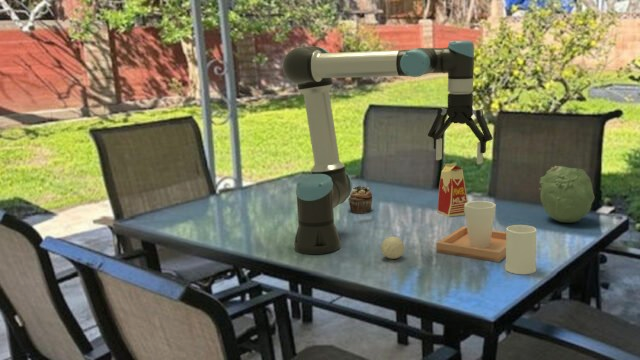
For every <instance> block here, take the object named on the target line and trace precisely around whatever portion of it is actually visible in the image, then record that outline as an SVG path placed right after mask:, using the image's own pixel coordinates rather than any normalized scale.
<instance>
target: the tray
mask: <svg viewBox="0 0 640 360" xmlns="http://www.w3.org/2000/svg"><path fill="white" fill-rule="evenodd" d="M436 253H441V254H446V255H447V254H448V255H453V256H458V257H459V256H460V257H465V258H472V259H475V260H476V259H477V260H483V261H489V262H495V263H500V262H502V260H504V259H506V231H501V230H500V231H499V230H494V229H492V235H491V242H490V246H488V247H485V248H477V247H472V246H470V243H469V238H468V230H467V226H461V227H460V228H458V229H456V230H454V231H453V232H452V233H449V234H448V235H447V236H445V237H444V238H441V239H440V240H439V241H437V242H436Z"/></svg>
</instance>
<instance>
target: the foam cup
mask: <svg viewBox="0 0 640 360" xmlns="http://www.w3.org/2000/svg"><path fill="white" fill-rule="evenodd" d="M496 205H497V204H496V203H494V202H492V201H487V200H486V201H485V200H473V201H472V200H471V201H468V202H467V203H465V205H464V212H465V215H464V216H465V222H466V227H467V230H468V238H469V243H470V246H472V247H477V248H485V247H488V246H490V242H491V235H492V230H493V227H494V219H495V214H496Z"/></svg>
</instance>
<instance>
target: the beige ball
mask: <svg viewBox="0 0 640 360" xmlns="http://www.w3.org/2000/svg"><path fill="white" fill-rule="evenodd" d="M380 251H381V253H382V254H383V255H384V257H386V258H387V259H392V260H394V259H395V260H396V259H399V258H400V257H402V255H403V254H404V251H405V243H404V242H403V241H402V239H401V238H399V237H398V236H388V237H386V238H385V239H384V240H383V241H382V243H381V246H380Z"/></svg>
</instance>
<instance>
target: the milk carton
mask: <svg viewBox="0 0 640 360" xmlns="http://www.w3.org/2000/svg"><path fill="white" fill-rule="evenodd" d="M457 163H458V162H452V163H443V165H444V167H443V169H442V170H441V173H440V180H439V186H438V188H439V189H438V195H437V197H438V199H437V213H438V214H442V215H443V216H446V217H447V218H450V217H457V216H465V212H464V205H465V203H467V202H469V201H468V196H467V190H466V189H467V188H466V183H465V182H466V181H465V177H464V171H463V168H462V167H459V166H458V165H457Z"/></svg>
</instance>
